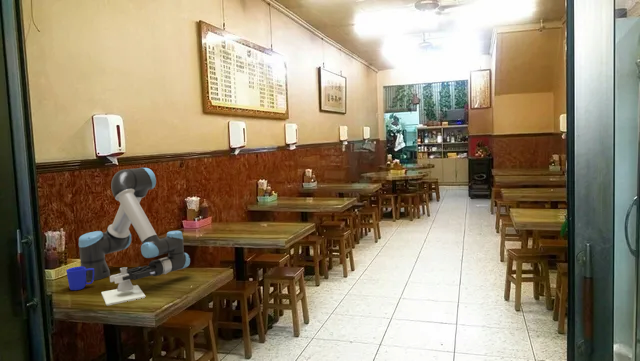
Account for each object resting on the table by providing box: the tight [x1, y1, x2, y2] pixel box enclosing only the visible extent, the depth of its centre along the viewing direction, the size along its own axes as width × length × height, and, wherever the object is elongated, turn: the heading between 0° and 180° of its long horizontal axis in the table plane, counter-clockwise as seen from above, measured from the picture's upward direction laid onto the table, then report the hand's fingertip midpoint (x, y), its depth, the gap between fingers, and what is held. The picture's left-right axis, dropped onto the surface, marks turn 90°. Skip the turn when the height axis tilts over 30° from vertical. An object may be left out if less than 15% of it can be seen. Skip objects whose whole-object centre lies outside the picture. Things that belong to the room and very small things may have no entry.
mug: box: [66, 266, 95, 291], centre depth 224 cm, size 8×12×10 cm
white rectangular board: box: [101, 284, 146, 307], centre depth 209 cm, size 20×16×1 cm
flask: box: [116, 266, 134, 292], centre depth 208 cm, size 7×7×10 cm
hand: (112, 279), depth 204 cm, fingers closed on flask, 3 cm apart
